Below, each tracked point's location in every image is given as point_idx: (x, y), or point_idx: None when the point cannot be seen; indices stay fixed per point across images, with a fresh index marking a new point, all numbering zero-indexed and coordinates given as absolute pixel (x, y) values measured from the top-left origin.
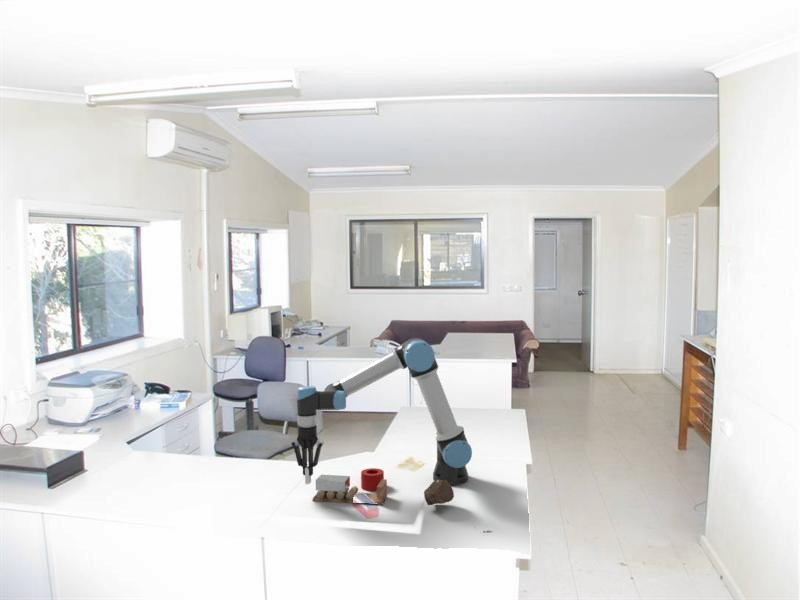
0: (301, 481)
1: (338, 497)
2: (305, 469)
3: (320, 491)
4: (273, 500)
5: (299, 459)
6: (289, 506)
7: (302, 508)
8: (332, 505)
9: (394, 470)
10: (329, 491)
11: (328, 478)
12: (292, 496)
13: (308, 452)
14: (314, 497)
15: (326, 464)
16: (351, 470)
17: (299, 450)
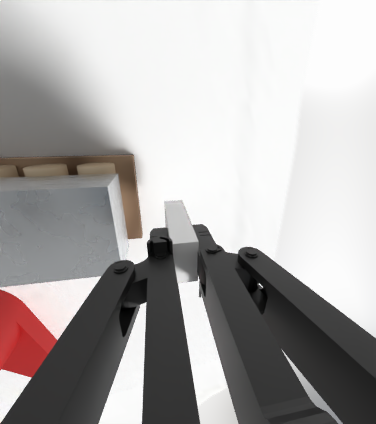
0: None
1: (4, 166)
2: (193, 237)
3: (90, 167)
4: (280, 130)
5: (273, 284)
6: (203, 72)
7: (138, 54)
8: (19, 117)
9: None
10: (39, 171)
11: (45, 232)
12: (223, 182)
13: (192, 404)
14: (128, 165)
15: (203, 386)
16: (127, 381)
17: (340, 407)
